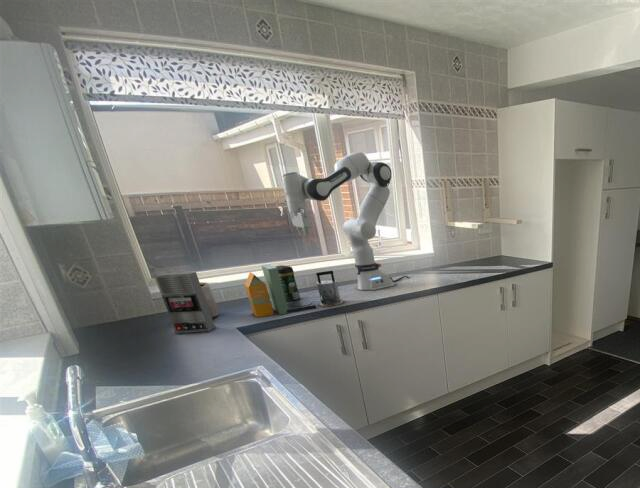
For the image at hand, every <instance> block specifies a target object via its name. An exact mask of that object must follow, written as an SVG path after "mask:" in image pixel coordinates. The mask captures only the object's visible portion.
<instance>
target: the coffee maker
mask: <svg viewBox="0 0 640 488" xmlns="http://www.w3.org/2000/svg"><path fill="white" fill-rule="evenodd" d="M261 270H262V273H263V277H264V280H265V284H266V287H267V290H268V294H269V297H270V301H271V305H272V308H273V310H275V311H276V312H277V313H278V314H279V315H285V314H291V313H296V312H301V311H307V310H313V309H316V307H317V306H316V304H314V302H313V301H311V300H308V299H303V300H296V301H290V302H287V301H286V300H285V296H284V292H283V288H282V284H281V281H280V277H279V273H278V269H277V268H276V266H274V265H272V264H270V263H269V264H268V263H267V264H261Z"/></svg>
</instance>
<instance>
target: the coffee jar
mask: <svg viewBox="0 0 640 488" xmlns="http://www.w3.org/2000/svg"><path fill="white" fill-rule="evenodd" d="M275 267H276V268H277V269H278V273H279V277H280V281H281V284H282V288H283V292H284V296H285V300H286V302H296V301H299V300H300V298H301V296H300V291H299V289H298V285H297V283H296V279H295V272H294V269H293V267H292V266H289V265H283V264H281V265H276V266H275Z"/></svg>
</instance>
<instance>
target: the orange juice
mask: <svg viewBox="0 0 640 488" xmlns="http://www.w3.org/2000/svg"><path fill="white" fill-rule="evenodd" d="M244 287H245V291H246V294H247V299H248V301H249V304H250V308H251V311H252V314H253V315H254V316H255V317H256V318H261V317H266V316H271V315H275V313H274V309H273V305H272V302H271V298H270V295H269V291H268V287H267V284H266V282H264V281H263V280H261V279H260V278H259V277H258V276H257V275H255V274H254V273H253V272H249V273H248V276H247V278H246V281H245V282H244Z"/></svg>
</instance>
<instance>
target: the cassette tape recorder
mask: <svg viewBox="0 0 640 488" xmlns="http://www.w3.org/2000/svg"><path fill="white" fill-rule="evenodd" d="M153 278H154V281H155V283H156V284H157V285H156V286H157V287H158V291H159V294H160V295H161V298H162V300H163V303H164V306H165V308H166V311H167V313H168V315H169V318H170V321H171V323H172V325H173V328H174V334H177V335H179V334H188V333H189V334H190V333H201V332H203V333H204V332H205V333H206V332H209V333H210V332H211V331H212V330H214V329H216V324H215V322H214V318H213V319H212V316H211V314H210V311H209V308H208V305H207V302H206V299H205V296H204V294H203V291H202V288H201V285H200V283H201V281H200V280H199V277H198V274H197V272H196V271H185V272H183V271H182V272H165V273H159V274H156V275H154V276H153Z"/></svg>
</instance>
